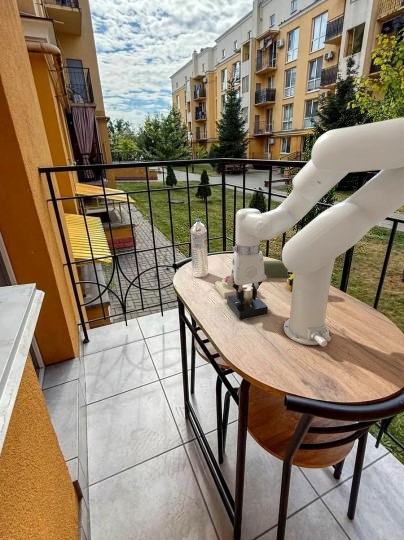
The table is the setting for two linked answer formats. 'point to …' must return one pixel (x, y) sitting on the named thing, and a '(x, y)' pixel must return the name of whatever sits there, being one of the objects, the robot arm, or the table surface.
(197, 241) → the water bottle
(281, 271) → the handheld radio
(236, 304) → the control panel
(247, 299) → the knob
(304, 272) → the robot arm
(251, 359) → the table surface
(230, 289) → the button box
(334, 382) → the table surface
